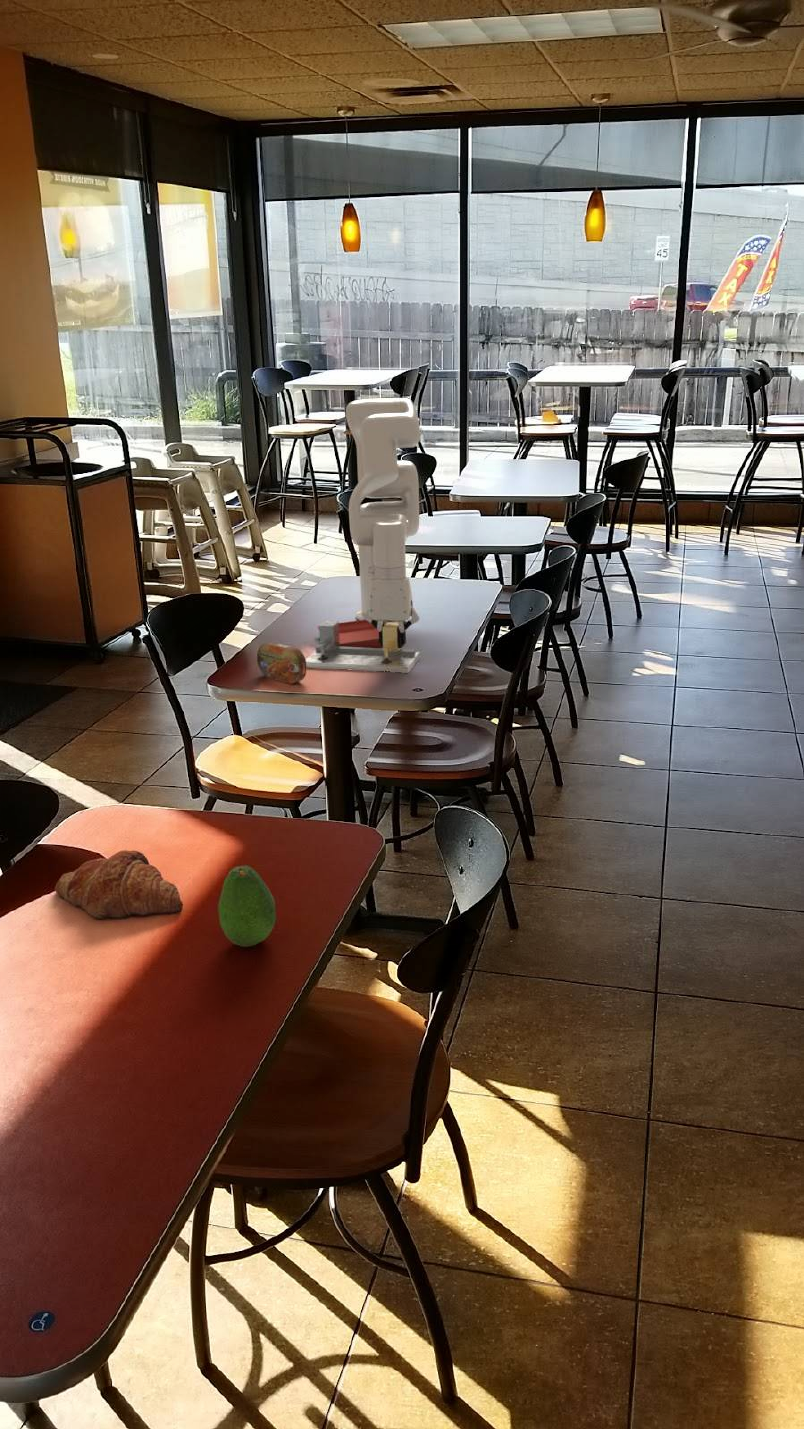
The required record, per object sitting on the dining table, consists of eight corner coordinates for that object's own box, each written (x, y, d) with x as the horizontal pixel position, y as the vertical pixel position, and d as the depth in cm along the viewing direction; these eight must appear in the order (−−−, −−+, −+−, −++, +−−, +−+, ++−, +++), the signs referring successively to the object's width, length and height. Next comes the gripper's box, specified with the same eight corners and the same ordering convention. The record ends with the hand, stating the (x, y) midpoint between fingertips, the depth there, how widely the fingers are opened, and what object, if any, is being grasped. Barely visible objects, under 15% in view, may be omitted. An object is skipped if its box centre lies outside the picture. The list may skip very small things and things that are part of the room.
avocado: (211, 952, 158) (203, 875, 154) (238, 924, 165) (231, 849, 160) (262, 962, 155) (256, 884, 151) (288, 933, 162) (283, 858, 158)
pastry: (67, 939, 163) (60, 890, 160) (54, 891, 176) (47, 845, 173) (185, 914, 168) (179, 865, 166) (164, 869, 182) (158, 823, 179)
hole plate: (319, 653, 287) (317, 619, 284) (419, 657, 281) (418, 623, 278) (303, 667, 276) (301, 633, 273) (408, 673, 270) (407, 637, 267)
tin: (257, 674, 273) (254, 641, 270) (267, 671, 275) (264, 637, 272) (299, 687, 263) (297, 652, 260) (309, 684, 265) (307, 649, 262)
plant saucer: (335, 656, 286) (334, 643, 285) (316, 637, 302) (316, 625, 301) (403, 647, 291) (403, 634, 290) (381, 629, 307) (381, 617, 306)
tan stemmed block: (388, 649, 282) (387, 622, 279) (402, 650, 281) (401, 622, 278) (378, 660, 274) (377, 632, 271) (393, 660, 273) (392, 632, 270)
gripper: (352, 575, 271) (355, 649, 277) (420, 577, 267) (422, 652, 273) (361, 568, 278) (364, 640, 284) (427, 570, 274) (429, 643, 280)
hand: (392, 645), depth 279 cm, fingers closed on tan stemmed block, 3 cm apart
